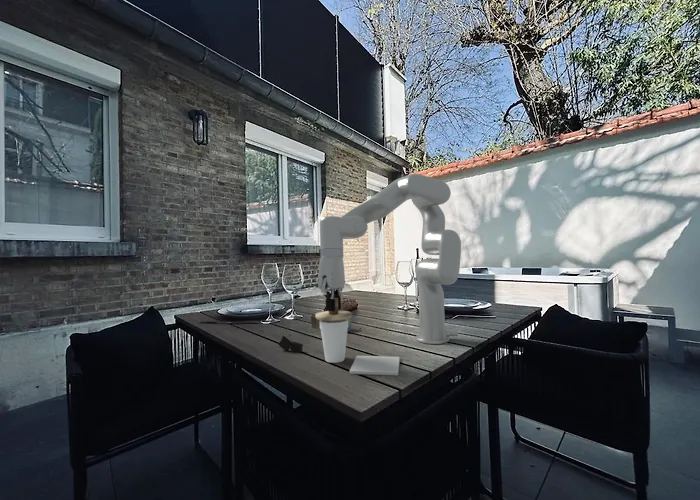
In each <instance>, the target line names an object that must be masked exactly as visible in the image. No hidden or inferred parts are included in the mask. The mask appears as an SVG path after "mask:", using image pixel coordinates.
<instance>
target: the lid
mask: <svg viewBox="0 0 700 500" xmlns="http://www.w3.org/2000/svg"><path fill="white" fill-rule="evenodd" d="M333 299H335V311H326V310H324V311H320V312H319V311H318V312H316V313H315V314H314V315H315V318H316V319H318V320H324V321H336V320H345V319H349V318H351V319H352V317H353V312H351V311H348V310H340V309H338V298H333Z"/></svg>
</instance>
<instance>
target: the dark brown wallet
mask: <svg viewBox="0 0 700 500" xmlns="http://www.w3.org/2000/svg"><path fill="white" fill-rule="evenodd" d="M277 345H278V346H279V347H280V348H282V349H283V351H285V352H288V351H289V350H290V351H292V352H293V353H296V354H297V353H302V352H303V347H304V344H303V343H301V342H295V341H294V340H293V339H292V334H290V333H286V334H283V335H282V338H281V339H280V341H279V343H278V344H277Z"/></svg>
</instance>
